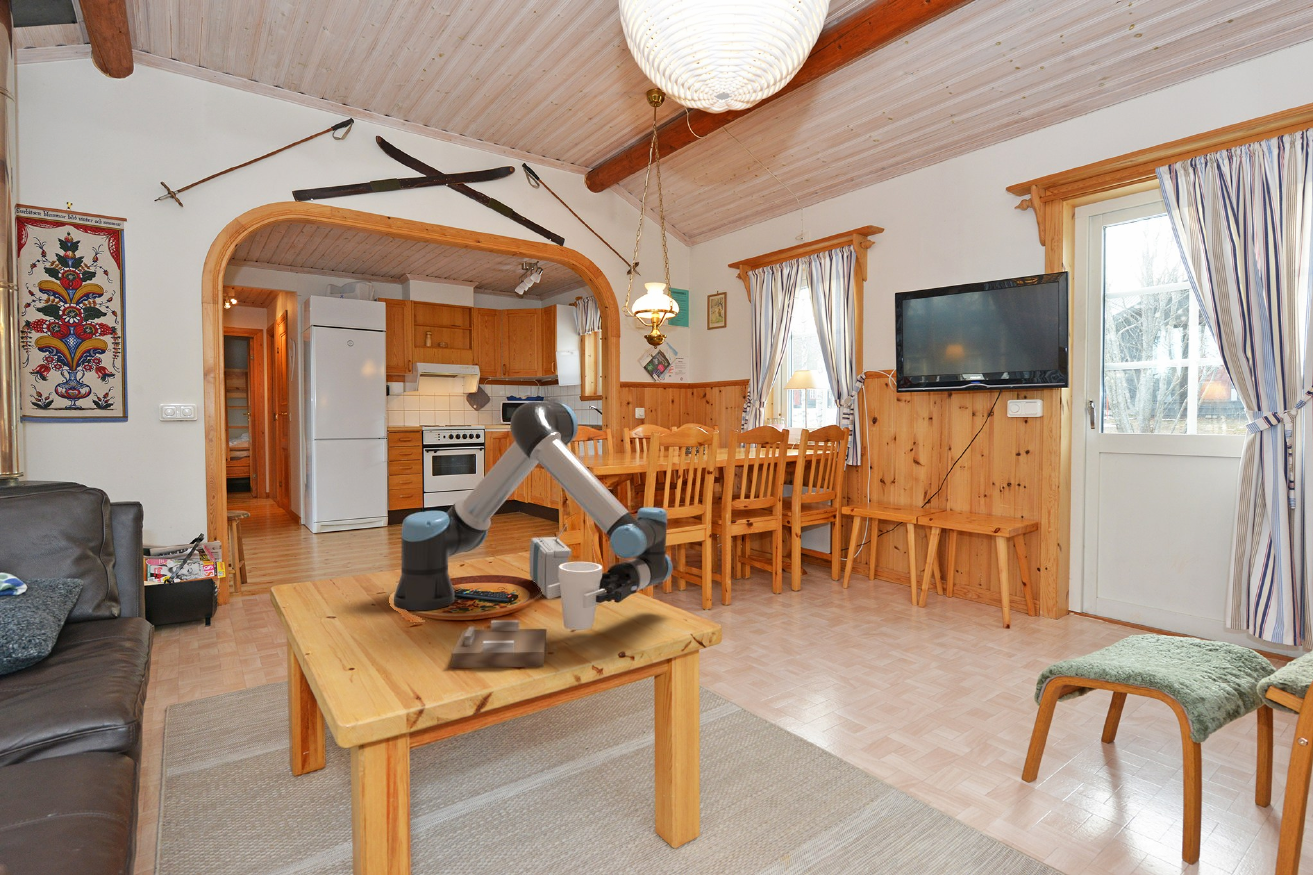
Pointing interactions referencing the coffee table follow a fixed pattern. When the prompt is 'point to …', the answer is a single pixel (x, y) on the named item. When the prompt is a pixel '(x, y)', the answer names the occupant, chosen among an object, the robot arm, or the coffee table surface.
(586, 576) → the foam cup
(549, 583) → the stereo radio cassette player
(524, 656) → the shelf
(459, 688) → the coffee table surface
